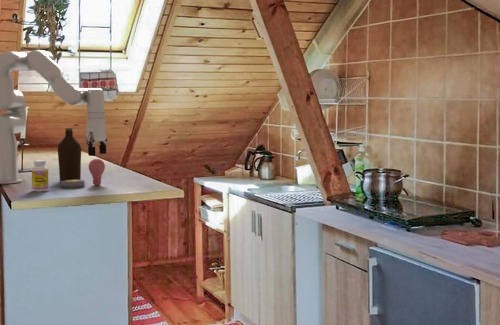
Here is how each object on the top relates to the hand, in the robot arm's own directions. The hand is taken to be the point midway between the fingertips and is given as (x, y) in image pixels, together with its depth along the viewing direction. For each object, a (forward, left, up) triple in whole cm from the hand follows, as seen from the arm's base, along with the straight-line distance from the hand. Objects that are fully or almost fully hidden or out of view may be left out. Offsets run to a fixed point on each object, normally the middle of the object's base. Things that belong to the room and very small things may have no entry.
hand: (97, 154), depth 288 cm
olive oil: (-19, +8, -14) cm, 25 cm away
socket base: (-9, -7, -14) cm, 18 cm away
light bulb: (-1, 0, -14) cm, 14 cm away
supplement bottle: (-15, -21, -14) cm, 30 cm away
